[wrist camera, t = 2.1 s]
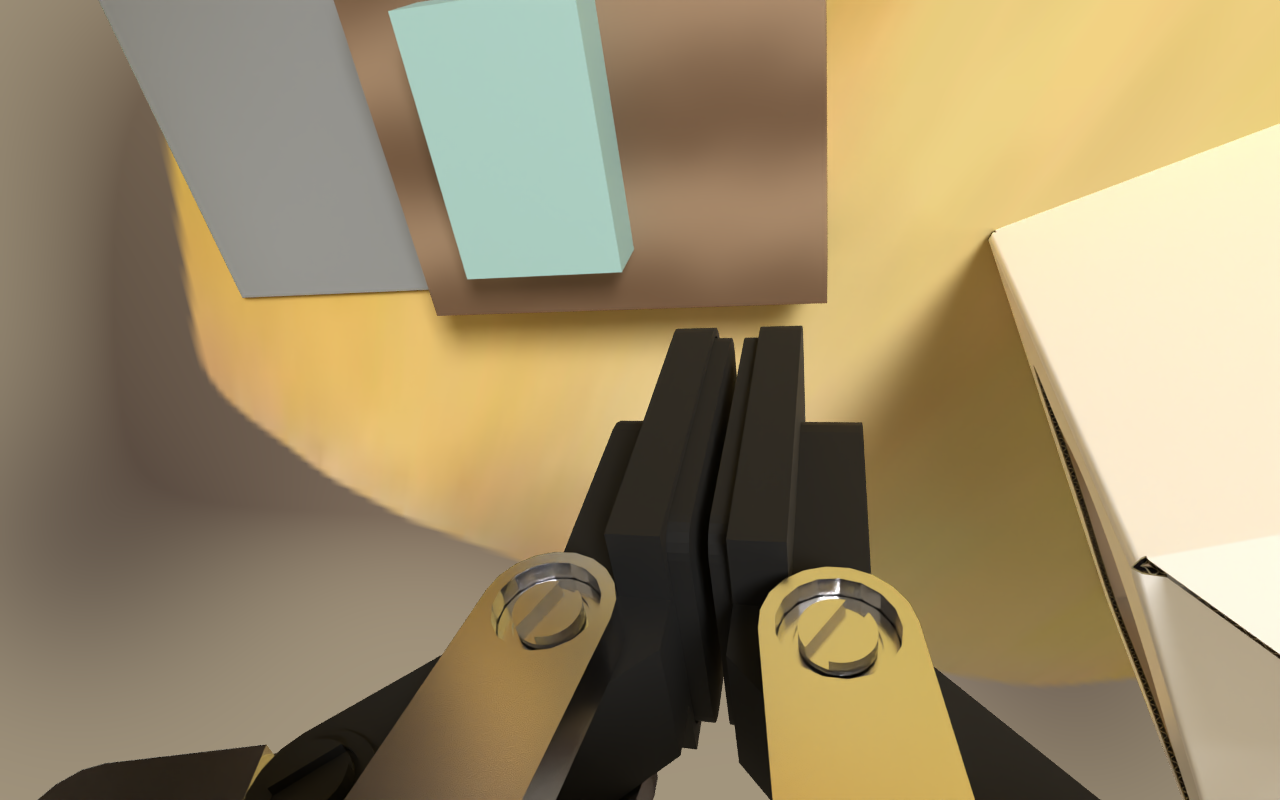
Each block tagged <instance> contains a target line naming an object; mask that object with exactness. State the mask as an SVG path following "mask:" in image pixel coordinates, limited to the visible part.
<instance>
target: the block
mask: <svg viewBox="0 0 1280 800" xmlns="http://www.w3.org/2000/svg"><path fill="white" fill-rule="evenodd" d="M388 13H389V16H390V19H391V23H392V26H393V30H394V33H395V36H396V40H397V43H398V47H399V50H400V53H401V57H402V60H403V63H404V67H405V70H406V74H407V77H408V80H409V84H410V87H411V91H412V94H413V97H414V101H415V104H416V107H417V111H418V114H419V118H420V121H421V124H422V128H423V131H424V135H425V138H426V141H427V145H428V148H429V151H430V155H431V158H432V162H433V165H434V168H435V172H436V175H437V178H438V182H439V185H440V189H441V192H442V195H443V199H444V202H445V206H446V209H447V212H448V216H449V219H450V222H451V226H452V229H453V233H454V236H455V239H456V243H457V246H458V250H459V253H460V256H461V260H462V263H463V266H464V270H465V273H466V277H467V279H486V278H508V277H530V276H551V275H573V274H595V273H616V272H622V271H623V269H624V267H625V265H626V264H627V262H628V260H629V258H630V256H631V254H632V252H633V250H634V246H633V240H632V234H631V227H630V221H629V215H628V208H627V202H626V196H625V189H624V183H623V176H622V170H621V164H620V157H619V151H618V145H617V138H616V132H615V125H614V119H613V113H612V106H611V100H610V94H609V87H608V81H607V75H606V68H605V62H604V55H603V49H602V43H601V36H600V30H599V24H598V17H597V11H596V5H595V0H429V1H423V2H417V3H413V4H410V5H407V6H404V7H400V8H397V9H394V10H390V11H388Z"/></svg>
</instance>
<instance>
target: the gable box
mask: <svg viewBox="0 0 1280 800" xmlns="http://www.w3.org/2000/svg"><path fill="white" fill-rule="evenodd" d="M995 231H996V232H993V233H992V235H991V236H990V238H989V243H990V246H991V249H992V252H993V255H994V258H995V262H996V265H997V268H998V271H999V274H1000V277H1001V280H1002V283H1003V286H1004V289H1005V292H1006V295H1007V298H1008V301H1009V304H1010V307H1011V310H1012V313H1013V316H1014V319H1015V322H1016V325H1017V329H1018V332H1019V335H1020V338H1021V341H1022V344H1023V347H1024V350H1025V353H1026V356H1027V359H1028V362H1029V365H1030V368H1031V371H1032V374H1033V377H1034V380H1035V383H1036V386H1037V389H1038V392H1039V396H1040V399H1041V402H1042V405H1043V408H1044V411H1045V414H1046V417H1047V420H1048V423H1049V426H1050V429H1051V432H1052V435H1053V438H1054V441H1055V444H1056V447H1057V450H1058V453H1059V456H1060V459H1061V463H1062V466H1063V469H1064V472H1065V475H1066V478H1067V481H1068V484H1069V487H1070V490H1071V493H1072V496H1073V499H1074V502H1075V505H1076V508H1077V511H1078V514H1079V517H1080V520H1081V523H1082V526H1083V530H1084V533H1085V536H1086V539H1087V542H1088V545H1089V548H1090V551H1091V554H1092V557H1093V560H1094V563H1095V566H1096V569H1097V572H1098V575H1099V578H1100V581H1101V584H1102V587H1103V590H1104V593H1105V597H1106V600H1107V602H1108V605H1109V607H1110V610H1111V613H1112V615H1113V618H1114V621H1115V623H1116V626H1117V629H1118V631H1119V634H1120V636H1121V639H1122V642H1123V644H1124V647H1125V650H1126V652H1127V655H1128V657H1129V660H1130V663H1131V665H1132V668H1133V671H1134V673H1135V676H1136V678H1137V681H1138V684H1139V686H1140V689H1141V692H1142V694H1143V697H1144V699H1145V702H1146V705H1147V707H1148V710H1149V713H1150V715H1151V718H1152V721H1153V723H1154V726H1155V728H1156V731H1157V734H1158V736H1159V739H1160V742H1161V744H1162V747H1163V749H1164V752H1165V755H1166V757H1167V760H1168V763H1169V765H1170V768H1171V770H1172V773H1173V776H1174V778H1175V781H1176V784H1177V786H1178V789H1179V791H1180V794H1181V797H1182V799H1183V800H1280V124H1277V125H1274V126H1272V127H1269V128H1266V129H1264V130H1261V131H1258V132H1256V133H1253V134H1250V135H1248V136H1245V137H1242V138H1240V139H1237V140H1234V141H1232V142H1229V143H1226V144H1223V145H1221V146H1218V147H1215V148H1213V149H1210V150H1207V151H1205V152H1202V153H1199V154H1197V155H1194V156H1191V157H1189V158H1186V159H1183V160H1181V161H1178V162H1175V163H1173V164H1170V165H1167V166H1165V167H1162V168H1159V169H1157V170H1154V171H1151V172H1149V173H1146V174H1143V175H1141V176H1138V177H1135V178H1133V179H1130V180H1127V181H1125V182H1122V183H1119V184H1117V185H1114V186H1111V187H1108V188H1106V189H1103V190H1100V191H1098V192H1095V193H1092V194H1090V195H1087V196H1084V197H1082V198H1079V199H1076V200H1074V201H1071V202H1068V203H1066V204H1063V205H1060V206H1058V207H1055V208H1052V209H1050V210H1047V211H1044V212H1042V213H1039V214H1036V215H1034V216H1031V217H1028V218H1026V219H1023V220H1020V221H1018V222H1015V223H1012V224H1010V225H1007V226H1004V227H1001V228H999V229H996V230H995Z"/></svg>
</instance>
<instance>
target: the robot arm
mask: <svg viewBox="0 0 1280 800" xmlns="http://www.w3.org/2000/svg"><path fill="white" fill-rule="evenodd" d="M723 676H724V683H725V691H726V699H727V707H728V714H729V721H730V724H732V725H735V732H736V740H737V749H738V757H739V763H740V764H741V765H742V766H743V768H744V769H745V770H746V771H747V773H749V775H750V776H751V777H752V778H753V780H754V781H755V782H756V783H757V784H758V786H760V788H761V789H762V790H763V792H764V793H765V794H766V795H767V796H768V798H769V799H770V800H1100V799H1098V798H1097V797H1096V796H1095V795H1093V794H1092V793H1091V792H1090V791H1088V790H1087V789H1086V788H1085V787H1083V786H1082V785H1081V784H1080V783H1078V782H1077V781H1076V780H1075V779H1073V778H1072V777H1071V776H1070V775H1068V774H1067V773H1066V772H1065V771H1063V770H1062V769H1061V768H1060V767H1058V766H1057V765H1056V764H1055V763H1053V762H1052V761H1051V760H1049V759H1048V758H1047V757H1046V756H1045V755H1043V754H1042V753H1041V752H1040V751H1038V750H1037V749H1036V748H1035V747H1033V746H1032V745H1031V744H1030V743H1028V742H1027V741H1026V740H1025V739H1023V738H1022V737H1021V736H1019V735H1018V734H1017V733H1016V732H1015V731H1013V730H1012V729H1011V728H1010V727H1008V726H1007V725H1006V724H1005V723H1003V722H1002V721H1001V720H1000V719H998V718H997V717H996V716H995V715H993V714H992V713H991V712H989V711H988V710H987V709H986V708H985V707H983V706H982V705H981V704H980V703H978V702H977V701H976V700H974V699H973V698H972V697H971V696H969V695H968V694H967V693H966V692H965V691H963V690H962V689H961V688H960V687H958V686H957V685H956V684H955V683H953V682H952V681H951V680H950V679H948V678H947V677H946V676H945V675H943V674H942V673H941V672H940V671H938V670H937V669H936V668H935V667H933V664H932V661H931V657H930V654H929V651H928V648H927V645H926V641H925V638H924V635H923V632H922V629H921V625H920V622H919V620H918V618H917V616H916V614H915V612H914V610H913V608H912V607H911V605H910V603H909V602H908V601H907V600H906V599H905V598H904V597H903V596H902V595H901V594H900V593H899V592H898V591H897V590H896V589H895V588H894V587H893V586H891V585H890V584H888V583H886V582H884V581H883V580H881V579H879V578H877V577H876V576H874V575H872V574H871V566H870V548H869V530H868V512H867V494H866V476H865V458H864V440H863V425H862V423H849V422H805V392H804V352H803V328H802V326H774V327H761V328H760V333H759V338H745V339H744V343H743V348H742V354H741V359H740V364H739V369H738V374H736V362H735V350H734V342H733V339H732V338H719V333H718V330H717V328H694V329H676V331H675V332H674V335H673V338H672V341H671V344H670V347H669V349H668V352H667V355H666V358H665V361H664V364H663V367H662V369H661V372H660V375H659V378H658V381H657V384H656V387H655V389H654V392H653V395H652V398H651V401H650V404H649V407H648V409H647V412H646V415H645V418H644V421H620V422H618V423H616V425H615V427H614V429H613V431H612V433H611V436H610V438H609V441H608V443H607V446H606V448H605V451H604V453H603V456H602V458H601V461H600V463H599V466H598V468H597V471H596V473H595V476H594V478H593V481H592V483H591V486H590V488H589V491H588V493H587V496H586V498H585V501H584V503H583V506H582V508H581V511H580V513H579V516H578V518H577V521H576V523H575V526H574V528H573V531H572V533H571V536H570V538H569V541H568V543H567V546H566V548H565V551H564V552H553V553H548V554H542V555H537V556H534V557H531V558H529V559H526V560H524V561H522V562H519V563H517V564H515V565H514V566H512V567H511V568H509V569H508V570H506V571H505V572H504V573H502V574H501V575H499V576H498V577H497V578H496V580H495V581H494V582H493V583H492V584H491V585H490V586H489V588H488V589H487V590H486V591H485V592H484V594H483V595H482V597H481V598H480V600H479V601H478V603H477V604H476V606H475V607H474V609H473V610H472V611H471V613H470V615H469V616H468V618H467V619H466V620H465V622H464V623H463V625H462V626H461V628H460V629H459V631H458V632H457V634H456V635H455V637H454V638H453V640H452V641H451V643H450V644H449V645H448V647H447V649H446V650H445V652H444V653H443V654H442V655H441V656H439V657H437V658H436V659H434V660H432V661H430V662H428V663H427V664H425V665H423V666H422V667H420V668H418V669H416V670H414V671H413V672H411V673H409V674H408V675H406V676H404V677H402V678H400V679H399V680H397V681H395V682H393V683H392V684H390V685H388V686H386V687H384V688H383V689H381V690H379V691H378V692H376V693H374V694H372V695H370V696H369V697H367V698H365V699H363V700H362V701H360V702H358V703H356V704H355V705H353V706H351V707H349V708H347V709H346V710H344V711H342V712H340V713H339V714H337V715H335V716H334V717H332V718H330V719H328V720H326V721H325V722H323V723H321V724H319V725H318V726H316V727H314V728H312V729H311V730H309V731H307V732H305V733H303V734H302V735H301V736H299V737H298V738H296V739H295V740H294V741H292V742H291V743H289V744H288V745H286V746H285V747H284V748H282V749H281V750H280V751H279V752H278V753H275V754H273V753H272V751H271V750H270V749H269V747H268V746H267V745H258V746H250V747H241V748H233V749H224V750H216V751H207V752H198V753H189V754H182V755H173V756H164V757H156V758H147V759H139V760H129V761H121V762H113V763H105V764H101V765H98V766H94V767H91V768H87V769H83V770H81V771H79V772H77V773H76V774H74V775H72V776H70V777H68V778H67V779H65V780H63V781H61V782H59V783H57V784H56V785H55V786H54V787H52V788H51V789H50V790H49V791H47V792H46V793H45V794H44V795H43V796H42V797H40V798H39V799H38V800H653V798H654V796H655V790H656V785H657V779H658V775H657V772H658V771H659V770H661V769H662V768H663V767H665V766H666V765H668V764H669V763H671V762H672V761H673V760H675V759H676V758H678V757H679V756H680V755H681V749H682V748H690V749H697V746H698V739H699V733H700V726H701V721H705V722H713V723H715V722H716V721H717V717H718V711H719V706H720V698H721V691H722V684H723Z"/></svg>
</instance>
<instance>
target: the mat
mask: <svg viewBox="0 0 1280 800" xmlns="http://www.w3.org/2000/svg"><path fill="white" fill-rule="evenodd" d="M98 1H99V3H100V5H101V7H102V9H103V11H104V13H105V15H106V17H107V19H108V21H109V23H110V25H111V27H112V29H113V32H114V34H115V36H116V38H117V40H118V42H119V44H120V46H121V48H122V50H123V52H124V54H125V56H126V58H127V60H128V63H129V65H130V67H131V69H132V71H133V73H134V75H135V77H136V79H137V81H138V83H139V85H140V87H141V89H142V91H143V93H144V95H145V98H146V100H147V102H148V104H149V105H150V108H151V110H152V112H153V114H154V116H155V118H156V120H157V122H158V124H159V127H160V129H161V131H162V133H163V135H164V137H165V139H166V141H167V143H168V145H169V147H170V149H171V151H172V153H173V155H174V157H175V160H176V162H177V164H178V166H179V168H180V170H181V172H182V174H183V176H184V178H185V180H186V182H187V184H188V186H189V188H190V190H191V193H192V195H193V197H194V199H195V201H196V203H197V205H198V207H199V209H200V211H201V213H202V215H203V217H204V219H205V221H206V224H207V226H208V228H209V230H210V232H211V234H212V236H213V238H214V240H215V242H216V244H217V246H218V248H219V250H220V252H221V254H222V257H223V259H224V261H225V263H226V265H227V267H228V269H229V271H230V273H231V275H232V277H233V279H234V281H235V283H236V285H237V287H238V290H239V292H240V294H241V296H242V298H245V297H269V296H292V295H315V294H339V293H362V292H386V291H409V290H429V289H428V286H427V283H426V280H425V277H424V274H423V270H422V267H421V264H420V261H419V258H418V255H417V252H416V249H415V246H414V243H413V240H412V237H411V234H410V231H409V228H408V225H407V222H406V219H405V216H404V213H403V210H402V207H401V204H400V201H399V198H398V195H397V192H396V189H395V186H394V182H393V179H392V176H391V173H390V170H389V167H388V164H387V161H386V158H385V155H384V152H383V149H382V146H381V143H380V140H379V137H378V134H377V131H376V128H375V125H374V122H373V119H372V116H371V113H370V110H369V107H368V104H367V101H366V97H365V94H364V91H363V88H362V85H361V82H360V79H359V76H358V73H357V70H356V67H355V64H354V61H353V58H352V55H351V52H350V49H349V46H348V43H347V40H346V37H345V34H344V31H343V28H342V25H341V22H340V19H339V16H338V13H337V9H336V6H335V3H334V0H98Z"/></svg>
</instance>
